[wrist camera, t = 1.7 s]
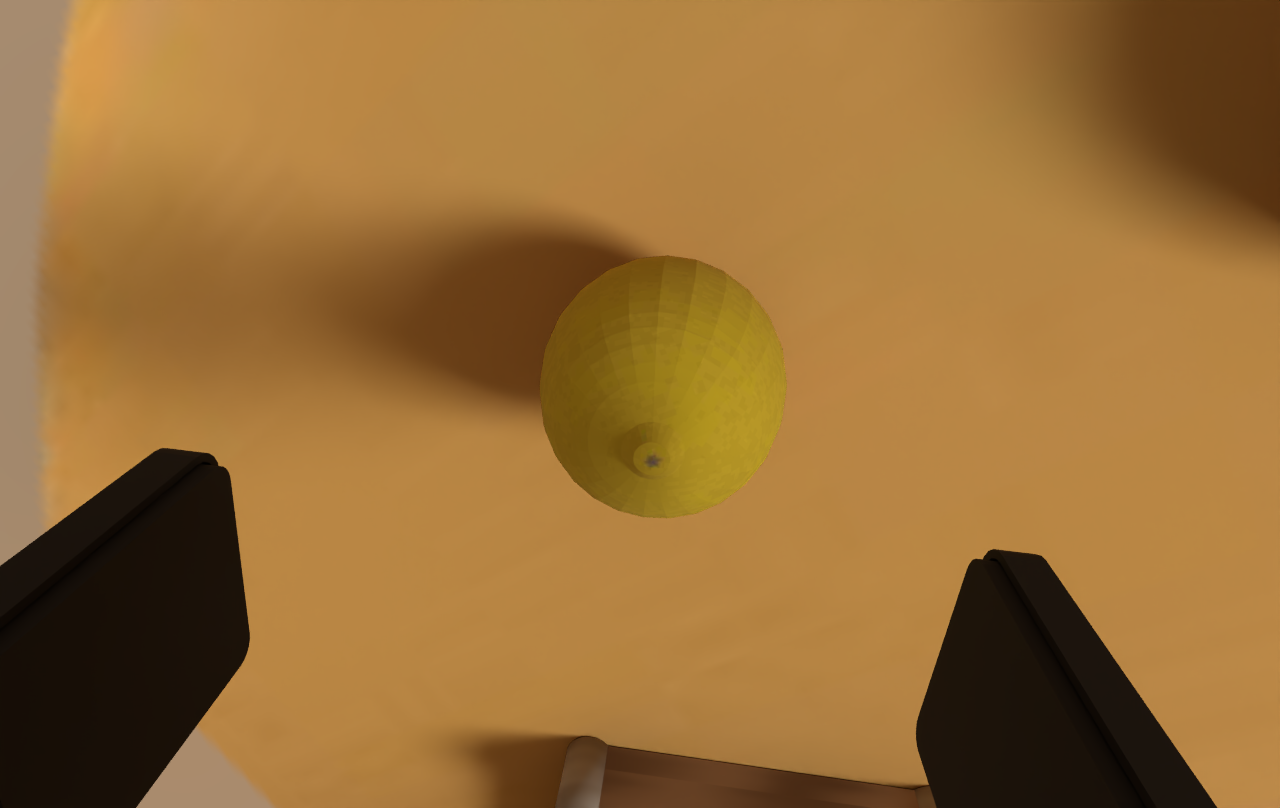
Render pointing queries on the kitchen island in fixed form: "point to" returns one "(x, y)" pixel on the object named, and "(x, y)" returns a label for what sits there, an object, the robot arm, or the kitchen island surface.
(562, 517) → the kitchen island surface
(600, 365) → the lemon
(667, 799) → the wooden square tray
